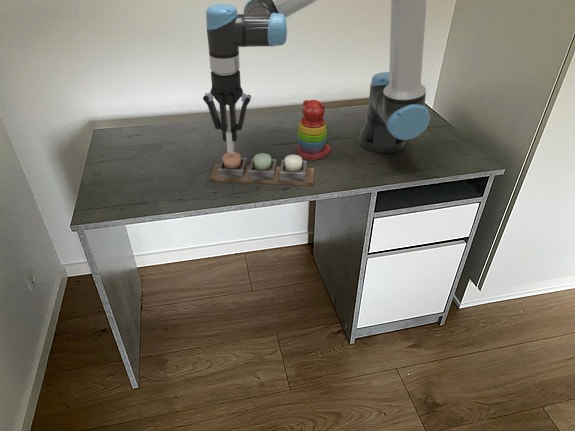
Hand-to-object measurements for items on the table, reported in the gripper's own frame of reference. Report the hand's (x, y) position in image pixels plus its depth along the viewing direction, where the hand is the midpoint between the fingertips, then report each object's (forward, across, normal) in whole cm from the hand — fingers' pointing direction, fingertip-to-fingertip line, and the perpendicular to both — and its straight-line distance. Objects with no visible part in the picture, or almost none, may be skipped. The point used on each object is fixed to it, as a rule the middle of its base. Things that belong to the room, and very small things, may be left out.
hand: (230, 150), depth 135 cm
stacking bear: (+8, -23, -15) cm, 29 cm away
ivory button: (+5, -18, 0) cm, 19 cm away
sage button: (+5, -9, 0) cm, 10 cm away
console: (+8, -9, 0) cm, 12 cm away
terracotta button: (+5, 0, 0) cm, 5 cm away
